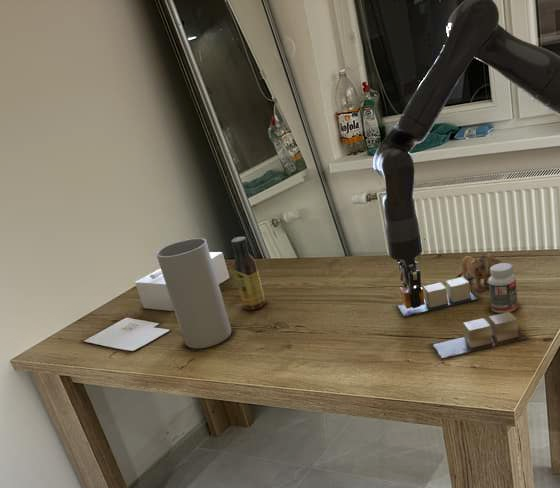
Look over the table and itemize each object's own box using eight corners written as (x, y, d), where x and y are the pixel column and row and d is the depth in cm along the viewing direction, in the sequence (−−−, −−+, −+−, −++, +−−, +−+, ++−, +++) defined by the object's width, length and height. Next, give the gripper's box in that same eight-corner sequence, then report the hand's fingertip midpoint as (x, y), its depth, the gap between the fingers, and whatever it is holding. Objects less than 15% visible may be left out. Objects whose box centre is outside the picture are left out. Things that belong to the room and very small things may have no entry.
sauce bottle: (241, 306, 192) (223, 239, 183) (262, 299, 193) (245, 232, 184) (248, 313, 186) (229, 244, 177) (269, 306, 187) (251, 237, 178)
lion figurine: (506, 287, 163) (503, 252, 159) (488, 295, 161) (485, 259, 157) (465, 275, 175) (461, 242, 171) (448, 282, 173) (444, 249, 169)
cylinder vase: (229, 323, 183) (204, 234, 171) (234, 341, 171) (207, 247, 160) (184, 336, 182) (156, 247, 171) (186, 354, 171) (156, 261, 160)
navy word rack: (467, 290, 166) (466, 273, 165) (477, 300, 160) (475, 283, 158) (397, 306, 167) (395, 290, 165) (404, 317, 161) (401, 300, 159)
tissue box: (229, 277, 217) (220, 245, 212) (175, 311, 201) (163, 276, 196) (198, 276, 226) (189, 245, 221) (143, 308, 210) (132, 275, 205)
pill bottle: (517, 313, 150) (513, 270, 145) (490, 314, 152) (486, 273, 148) (518, 302, 154) (515, 261, 150) (492, 303, 157) (488, 263, 152)
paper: (80, 343, 195) (78, 340, 195) (124, 317, 206) (123, 314, 205) (135, 352, 179) (134, 349, 179) (180, 324, 190) (179, 321, 190)
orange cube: (420, 298, 165) (417, 282, 163) (424, 304, 161) (422, 289, 159) (402, 302, 165) (400, 287, 164) (406, 308, 161) (404, 293, 160)
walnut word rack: (513, 326, 144) (512, 308, 143) (526, 339, 138) (525, 320, 136) (432, 345, 145) (430, 327, 143) (442, 359, 139) (439, 340, 137)
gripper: (427, 239, 149) (437, 310, 157) (411, 223, 162) (421, 289, 170) (394, 247, 149) (405, 318, 157) (381, 231, 162) (391, 296, 170)
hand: (413, 303), depth 163 cm, fingers closed on orange cube, 4 cm apart
